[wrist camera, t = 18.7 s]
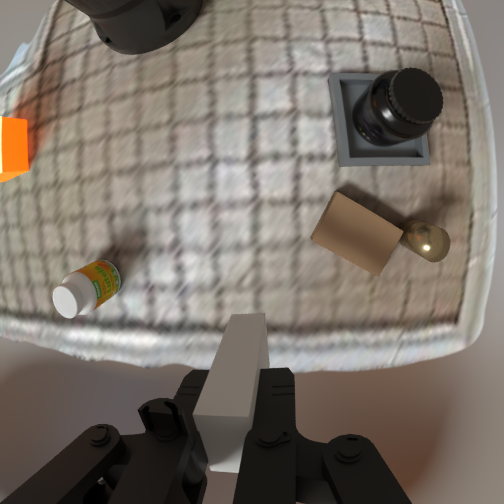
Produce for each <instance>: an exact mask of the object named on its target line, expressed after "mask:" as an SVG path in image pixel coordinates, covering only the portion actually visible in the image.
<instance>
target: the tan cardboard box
mask: <svg viewBox="0 0 504 504" xmlns="http://www.w3.org/2000/svg"><path fill="white" fill-rule="evenodd" d="M403 232H404V231H402V230H400V229H399V228H397V227H396V226H394V225H392V224H391V223H389V222H388V221H386V220H384V219H383V218H381V217H380V216H378V215H376V214H375V213H373V212H371V211H370V210H368V209H366V208H365V207H363V206H361V205H359V204H358V203H356V202H354V201H353V200H351V199H349V198H347V197H346V196H344V195H342V194H340V193H338V192H334V193H333V195H332V197H331V199H330V201H329V203H328V205H327V207H326V209H325V211H324V212H323V214H322V216H321V218H320V220H319V222H318V224H317V226H316V227H315V229H314V231H313V233H312V235H311V237H310V238H311V240H312V241H313V242H315V243H317V244H319V245H321V246H323V247H324V248H326V249H328V250H330V251H332V252H334V253H336V254H337V255H339V256H341V257H343V258H345V259H347V260H348V261H350V262H352V263H354V264H356V265H358V266H359V267H361V268H363V269H365V270H367V271H368V272H370V273H372V274H374V275H376V276H377V277H379V275H380V273H381V272H382V270H383V268H384V266H385V265H386V263H387V261H388V259H389V258H390V256H391V254H392V252H393V250H394V249H395V247H396V245H397V243H398V241H399V239H400V237H401V236H402V234H403Z"/></svg>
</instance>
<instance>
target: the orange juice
mask: <svg viewBox="0 0 504 504" xmlns="http://www.w3.org/2000/svg"><path fill="white" fill-rule="evenodd" d="M27 171H29V169H28V150H27V120H23V119H15V118H7V117H2V116H0V182H4V181H7V180H9V179H11V178H13V177H16V176H18V175H20V174H22V173H25V172H27Z"/></svg>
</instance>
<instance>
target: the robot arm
mask: <svg viewBox="0 0 504 504" xmlns="http://www.w3.org/2000/svg"><path fill="white" fill-rule="evenodd" d="M64 1H66V2H68V3H69V4H71V5H72V6H74V7H76V8H77V9H79V10H80V11H82V12H83V13H85V14H86V15H88V16H89V17H90V19H91V21H92V24H93V26H94V28H95V30H96V32H97V34H98V36H99V38H100V39H101V41H102V42H103V43H104V44H106V45H107V46H108V47H110V48H111V49H113V50H114V51H116V52H119V53H122V54H129V55H135V54H142V53H147V52H150V51H153V50H156V49H158V48H160V47H162V46H165V45H166V44H168V43H170V42H171V41H173V40H174V39H176V38H177V37H178V36H180V35H181V34H182V33H183V32H184V31H185V30H186V29H187V28H188V27H189V26H190V25H191V24H192V22H193V21H194V20H195V18H196V16H197V15H198V13H199V11H200V8H201V5H202V0H64ZM269 364H270V363H269V352H268V341H267V329H266V318H265V313H256V314H233V315H231V317H230V320H229V323H228V325H227V328H226V330H225V333H224V335H223V338H222V340H221V343H220V346H219V348H218V351H217V353H216V356H215V358H214V361H213V364H212V366H211V369H210V370H192V371H191V372H190V373H189V374H187V375H186V376H185V377H184V379H183V381H182V383H181V385H180V388H179V389H178V391H177V393H176V395H175V397H174V399H169V398H158V399H154V400H150V401H148V402H146V403H145V404H143V405H142V406H141V407H140V408H139V409H138V412H139V415H140V417H141V419H142V422H143V424H144V426H145V428H146V431H145V433H142V434H135V435H120V434H119V432H118V430H117V429H116V428H115V427H113V426H112V425H108V424H98V425H95V426H92V427H90V428H88V429H87V430H85V431H84V432H83V433H82V434H81V435H80V436H78V437H77V438H76V439H75V440H74V441H73V442H72V443H70V444H69V445H68V446H67V447H66V448H65V449H63V450H62V451H61V452H60V453H59V454H58V455H56V456H55V457H54V458H53V459H52V460H51V461H49V463H47V464H46V465H45V466H44V467H42V468H41V469H40V470H39V471H38V472H37V473H36V474H34V475H33V476H32V477H31V478H29V479H28V480H27V481H26V482H25V483H24V484H22V485H21V486H20V487H19V488H17V489H16V490H15V491H14V492H13V493H11V494H10V495H9V496H8V497H7V498H6V499H4V500H3V501H2V502H1V503H0V504H202V502H203V498H204V494H205V491H206V487H207V477H206V474H205V471H206V467H207V463H208V464H209V466H210V469H211V471H220V472H236V473H238V478H237V484H236V489H235V494H234V500H233V504H296V502H300V503H305V504H412V503H411V501H410V500H409V498H408V497H407V495H406V494H405V492H404V491H403V489H402V487H401V486H400V484H399V483H398V481H397V480H396V478H395V477H394V475H393V473H392V472H391V470H390V469H389V468H388V466H387V465H386V463H385V461H384V460H383V458H382V457H381V455H380V453H379V452H378V450H377V449H376V447H375V446H374V444H373V443H372V442H371V441H370V440H369V439H367V438H365V437H363V436H360V435H353V434H348V435H341V436H338V437H336V438H334V439H332V440H331V441H330V442H329V443H328V444H327V443H321V442H315V441H312V440H309V439H307V438H305V437H303V436H302V435H301V434H300V433H299V432H298V430H297V429H296V420H295V418H296V417H295V382H294V374H293V373H292V372H291V371H290V369H289V368H269ZM101 477H103V480H101V481H100V482H97V481H98V480H99V479H100V478H101Z"/></svg>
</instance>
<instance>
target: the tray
mask: <svg viewBox="0 0 504 504" xmlns="http://www.w3.org/2000/svg"><path fill="white" fill-rule="evenodd" d="M379 75H380V74H368V73H331V74H330V76H329V79H328V84H329V90H330V97H331V103H332V111H333V118H334V126H335V134H336V143H337V152H338V163H339V167H349V166H394V165H411V166H422V165H430V158H429V148H428V139H427V133H426V134H425V135H423V136H421V137H419V138H417V139H413V140H410V141H407V142H403V143H400V144H397V145H393V146H390V147H378V146H374V145H372V144H370V143H368V142H367V141H365V140H364V139H363V138H362V137H361V136H360V135H359V134H358V132H357V131H356V129H355V127H354V124H353V120H352V110H353V106H354V104H355V102H356V100H357V99H358V98H359V97H360V95H361V94H362V93H363V92H364V91H365V90H366V88H367V87H368V86H369V85H370V84H371V83H372V82H373V80H374V79H375V78H376V77H378V76H379Z"/></svg>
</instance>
